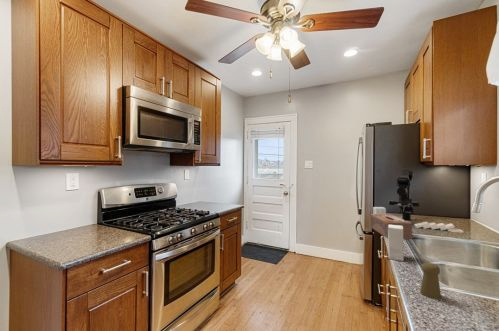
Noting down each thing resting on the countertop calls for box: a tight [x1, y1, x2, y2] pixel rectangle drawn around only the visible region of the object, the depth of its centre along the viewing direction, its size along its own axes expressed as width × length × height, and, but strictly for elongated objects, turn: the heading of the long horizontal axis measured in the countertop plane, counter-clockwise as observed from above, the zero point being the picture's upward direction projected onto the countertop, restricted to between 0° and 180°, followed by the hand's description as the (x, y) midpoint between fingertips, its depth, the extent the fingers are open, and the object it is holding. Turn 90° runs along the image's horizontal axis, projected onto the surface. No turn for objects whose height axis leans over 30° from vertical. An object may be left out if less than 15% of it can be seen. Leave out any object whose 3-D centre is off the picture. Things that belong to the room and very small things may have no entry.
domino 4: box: [446, 227, 464, 234], centre depth 162 cm, size 2×5×8 cm
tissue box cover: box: [370, 213, 413, 240], centre depth 161 cm, size 26×14×10 cm, turn 175°
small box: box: [372, 206, 387, 214], centre depth 195 cm, size 8×6×10 cm
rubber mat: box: [412, 224, 451, 233], centre depth 169 cm, size 10×26×1 cm, turn 65°
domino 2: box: [430, 222, 446, 231], centre depth 166 cm, size 2×5×8 cm
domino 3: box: [439, 223, 455, 230], centre depth 164 cm, size 2×5×8 cm
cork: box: [419, 262, 442, 300], centre depth 85 cm, size 6×6×11 cm
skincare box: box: [387, 224, 405, 262], centre depth 119 cm, size 8×7×16 cm
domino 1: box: [423, 222, 438, 229], centre depth 168 cm, size 2×5×8 cm
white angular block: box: [413, 221, 430, 228], centre depth 170 cm, size 2×5×8 cm
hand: (403, 214), depth 176 cm, fingers closed
